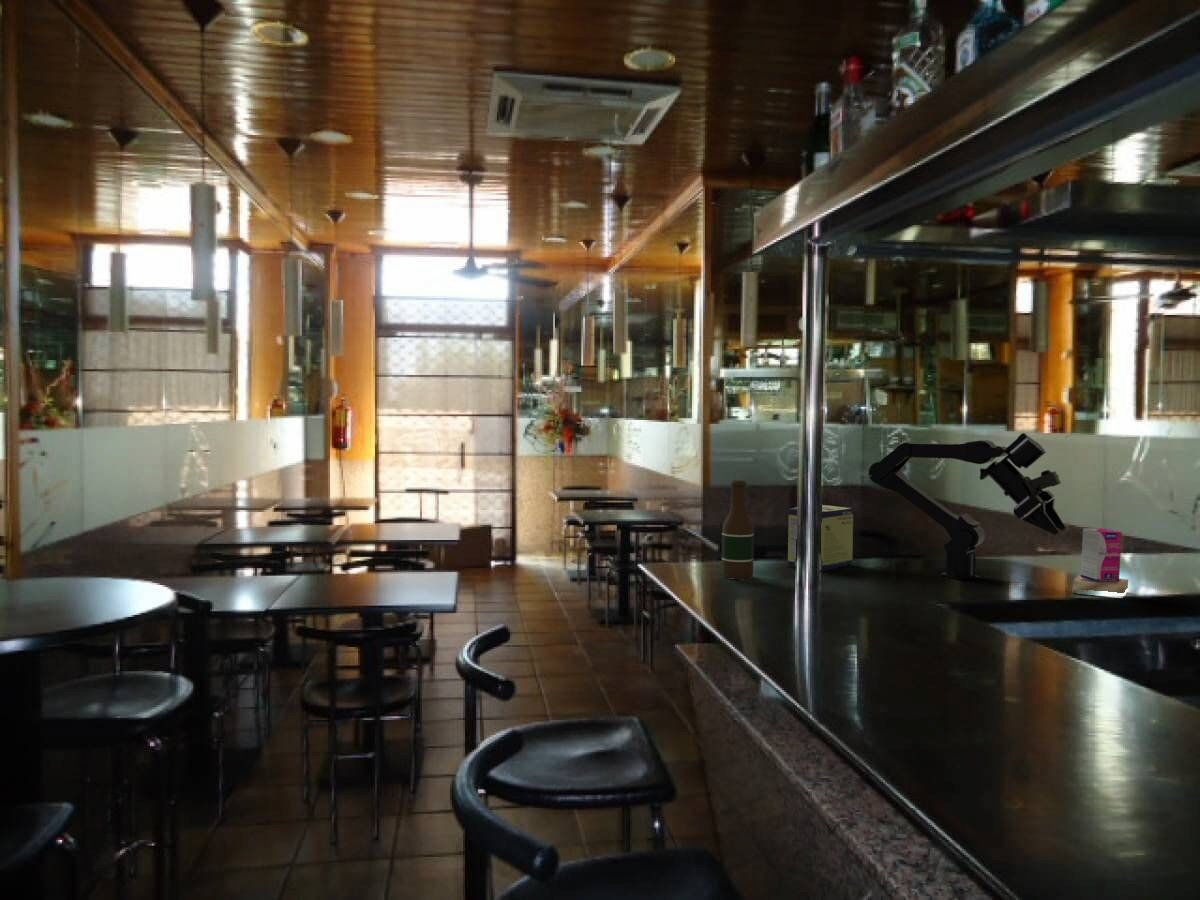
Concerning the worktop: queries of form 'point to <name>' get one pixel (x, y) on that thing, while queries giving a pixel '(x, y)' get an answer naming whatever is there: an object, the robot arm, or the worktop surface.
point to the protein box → (827, 536)
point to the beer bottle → (737, 536)
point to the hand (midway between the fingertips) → (1060, 531)
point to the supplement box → (1101, 554)
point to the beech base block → (1100, 585)
